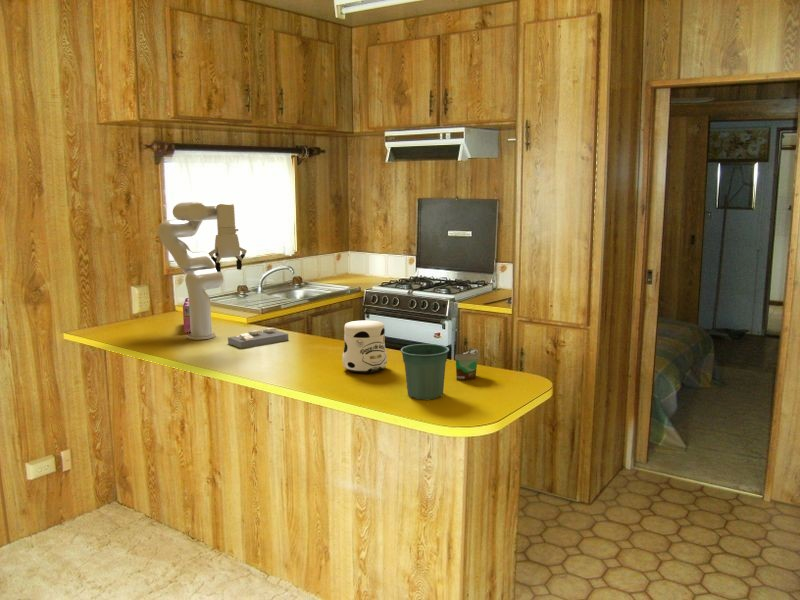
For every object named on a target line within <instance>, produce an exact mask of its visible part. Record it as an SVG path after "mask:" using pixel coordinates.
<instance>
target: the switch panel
mask: <svg viewBox="0 0 800 600" xmlns="http://www.w3.org/2000/svg"><path fill="white" fill-rule="evenodd" d="M248 334H249V333H248ZM249 335H251V336H252V337H254V339H253V340H248V341H246V340H244V339H242V338H241V337H240V335H234V336H228V337H227V341H228V342H227V343H228V345H230V346H232V345H233V347H236V348H238V349H240V350H242V349H246V348H247V349H248V348H254V347H259V346H264V344H265V345H268V344H269V343H271V344H276V343H281V342H280V341H282V342H286V340H287V341H289V333H286V332H283V331H280V330H277V329H276V330H275V331H270V332H266V331H265V332H263V331H262V333H258V334H249ZM275 342H276V343H275ZM269 345H270V344H269Z"/></svg>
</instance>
